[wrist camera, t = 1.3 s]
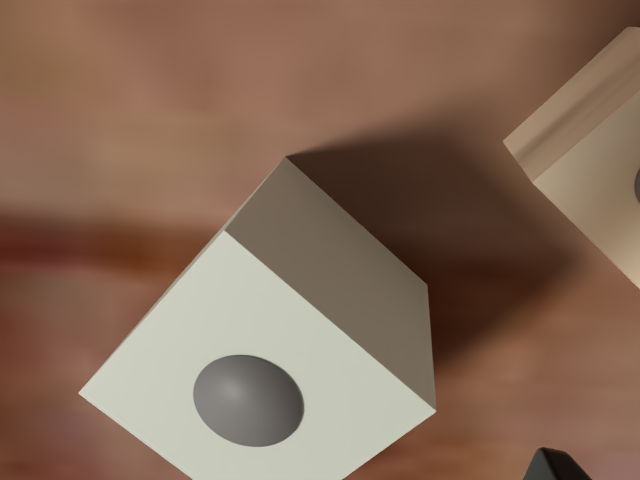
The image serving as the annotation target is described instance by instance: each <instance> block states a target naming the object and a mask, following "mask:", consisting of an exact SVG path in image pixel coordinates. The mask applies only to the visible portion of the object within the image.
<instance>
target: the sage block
mask: <svg viewBox="0 0 640 480" xmlns="http://www.w3.org/2000/svg"><path fill="white" fill-rule="evenodd" d="M78 394H80V395H81V396H82V397H84V398H85V399H86V400H88V401H89V402H90V403H92V404H93V405H94V406H96V407H97V408H98V409H100V410H101V411H102V412H104V413H105V414H106V415H108V416H109V417H110V418H112V419H113V420H114V421H116V422H117V423H118V424H120V425H121V426H122V427H124V428H125V429H126V430H128V431H129V432H130V433H132V434H133V435H134V436H136V437H137V438H138V439H140V440H141V441H142V442H144V443H145V444H146V445H148V446H149V447H150V448H152V449H153V450H154V451H156V452H157V453H158V454H160V455H161V456H162V457H164V458H165V459H166V460H168V461H169V462H170V463H172V464H173V465H174V466H176V467H177V468H178V469H180V470H181V471H182V472H184V473H185V474H186V475H188V476H189V477H190V478H192V479H193V480H342V479H343V478H345V477H346V476H347V475H349V474H350V473H351V472H353V471H354V470H356V469H357V468H358V467H360V466H361V465H363V464H364V463H365V462H367V461H368V460H370V459H371V458H372V457H374V456H375V455H376V454H378V453H379V452H381V451H382V450H383V449H385V448H386V447H388V446H389V445H390V444H392V443H393V442H395V441H396V440H397V439H399V438H400V437H402V436H403V435H404V434H406V433H407V432H408V431H410V430H411V429H413V428H414V427H415V426H417V425H418V424H420V423H421V422H422V421H424V420H425V419H427V418H428V417H429V416H431V415H432V414H433V413H435V412H436V398H435V384H434V370H433V356H432V342H431V328H430V314H429V299H428V285H427V284H426V283H425V282H424V281H423V280H421V279H420V278H419V277H418V276H417V275H416V274H415V273H414V272H413V271H411V270H410V269H409V268H408V267H407V266H406V265H405V264H404V263H403V262H401V261H400V260H399V259H398V258H397V257H396V256H395V255H394V254H393V253H392V252H390V251H389V250H388V249H387V248H386V247H385V246H384V245H383V244H382V243H380V242H379V241H378V240H377V239H376V238H375V237H374V236H373V235H372V234H370V233H369V232H368V231H367V230H366V229H365V228H364V227H363V226H362V225H360V224H359V223H358V222H357V221H356V220H355V219H354V218H353V217H352V216H350V215H349V214H348V213H347V212H346V211H345V210H344V209H343V208H342V207H341V206H339V205H338V204H337V203H336V202H335V201H334V200H333V199H332V198H331V197H329V196H328V195H327V194H326V193H325V192H324V191H323V190H322V189H321V188H319V187H318V186H317V185H316V184H315V183H314V182H313V181H312V180H311V179H309V178H308V177H307V176H306V175H305V174H304V173H303V172H302V171H301V170H299V169H298V168H297V167H296V166H295V165H294V164H293V163H292V162H291V161H289V160H288V159H287V158H286V157H284V158H283V159H282V160H281V162H280V163H279V164H278V165H277V166H276V167H275V168H274V169H273V171H272V172H271V173H270V174H269V175H268V176H267V177H266V178H265V180H264V181H263V182H262V183H261V184H260V185H259V186H258V187H257V189H256V190H255V191H254V192H253V193H252V194H251V195H250V196H249V198H248V199H247V200H246V201H245V202H244V203H243V204H242V205H241V207H240V208H239V209H238V210H237V211H236V212H235V213H234V214H233V216H232V217H231V218H230V219H229V220H228V221H227V222H226V223H225V225H224V226H223V227H222V228H221V229H220V230H219V231H218V232H217V234H216V235H215V236H214V237H213V238H212V239H211V240H210V241H209V243H208V244H207V245H206V246H205V247H204V248H203V249H202V250H201V252H200V253H199V254H198V255H197V256H196V257H195V258H194V259H193V261H192V262H191V263H190V264H189V265H188V266H187V267H186V268H185V270H184V271H183V272H182V273H181V274H180V275H179V276H178V277H177V279H176V280H175V281H174V282H173V283H172V284H171V286H170V287H169V288H168V289H167V290H166V291H165V293H164V294H163V295H162V296H161V297H160V298H159V300H158V301H157V302H156V303H155V304H154V305H153V307H152V308H151V309H150V310H149V311H148V312H147V314H146V315H145V316H144V317H143V318H142V319H141V321H140V322H139V323H138V324H137V325H136V326H135V328H134V329H133V330H132V331H131V332H130V333H129V335H128V336H127V337H126V338H125V339H124V340H123V342H122V343H121V344H120V345H119V346H118V347H117V349H116V350H115V351H114V352H113V353H112V354H111V356H110V357H109V358H108V359H107V360H106V361H105V363H104V364H103V365H102V366H101V367H100V368H99V370H98V371H97V372H96V373H95V374H94V375H93V377H92V378H91V379H90V380H89V381H88V382H87V384H86V385H85V386H84V387H83V388H82V390H81V391H80V392H79V393H78Z"/></svg>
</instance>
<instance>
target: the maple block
mask: <svg viewBox="0 0 640 480" xmlns="http://www.w3.org/2000/svg"><path fill="white" fill-rule="evenodd" d="M502 142H503V143H504V144H505V146H506V147H507V149H508V150H509V151H510V153H511V154H512V155H513V157H514V158H515V160H516V161H517V162H518V164H519V165H520V167H521V168H522V169H523V171H524V172H525V174H526V175H527V176H528V178H529V179H530V181H531V182H532V183H533V184H534V185H535V186H536V187H537V188H538V189H539V190H540V191H541V192H542V193H543V194H544V195H545V196H546V197H547V198H548V199H549V200H550V201H551V202H552V203H553V204H554V205H555V206H556V207H557V208H558V209H559V210H560V211H561V212H562V213H563V214H564V215H565V216H566V217H567V218H568V219H569V220H570V221H571V222H572V223H573V224H574V225H575V226H576V227H577V228H578V229H579V230H581V231H582V232H583V233H584V234H585V235H586V236H587V237H588V238H589V239H590V240H591V241H592V242H593V243H594V244H595V245H596V246H597V247H598V248H599V249H600V250H601V251H602V252H603V253H604V254H605V255H606V256H607V257H608V258H609V259H610V260H611V261H612V262H613V263H614V264H615V265H616V266H617V267H618V268H619V269H620V270H621V271H622V272H623V273H624V274H625V275H626V276H627V277H628V278H629V279H630V280H631V281H632V282H633V283H634V284H635V285H636V286H637V287H638V288H639V289H640V27H626V28H625V29H624V30H623V31H622V32H621V33H620V34H619V35H618V36H617V37H616V38H614V39H613V40H612V41H611V42H610V43H609V44H608V45H607V46H606V47H605V48H604V49H602V50H601V51H600V52H599V53H598V54H597V55H596V56H595V57H594V58H593V59H592V60H590V61H589V62H588V63H587V64H586V65H585V66H584V67H583V68H582V69H581V70H580V71H578V72H577V73H576V74H575V75H574V76H573V77H572V78H571V79H570V80H569V81H568V82H566V83H565V84H564V85H563V86H562V87H561V88H560V89H559V90H558V91H557V92H556V93H554V94H553V95H552V96H551V97H550V98H549V99H548V100H547V101H546V102H545V103H544V104H542V105H541V106H540V107H539V108H538V109H537V110H536V111H535V112H534V113H533V114H532V115H531V116H529V117H528V118H527V119H526V120H525V121H524V122H523V123H522V124H521V125H520V126H519V127H517V128H516V129H515V130H514V131H513V132H512V133H511V134H510V135H509V136H508V137H507V138H505V139H504V140H503V141H502Z"/></svg>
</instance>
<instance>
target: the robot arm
mask: <svg viewBox="0 0 640 480" xmlns="http://www.w3.org/2000/svg"><path fill="white" fill-rule="evenodd" d="M523 480H592V479H591V478H590V477H589V476H588V475H587V474H586V472H585V471H584V470H583V469H582V468H581V467H580V466H579V465H578V464H577V463H576V462H575V461H574V459H573V458H572V457H571V456H570V455H569V454H567V453H566V452H564V451H560V450H555V449H550V448H545V447H542V448H539V449H538V450H537V451H536V452H535V454H534V456H533V459H532V461H531V463H530V465H529V467H528V470H527V472H526V474H525V476H524V479H523Z"/></svg>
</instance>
